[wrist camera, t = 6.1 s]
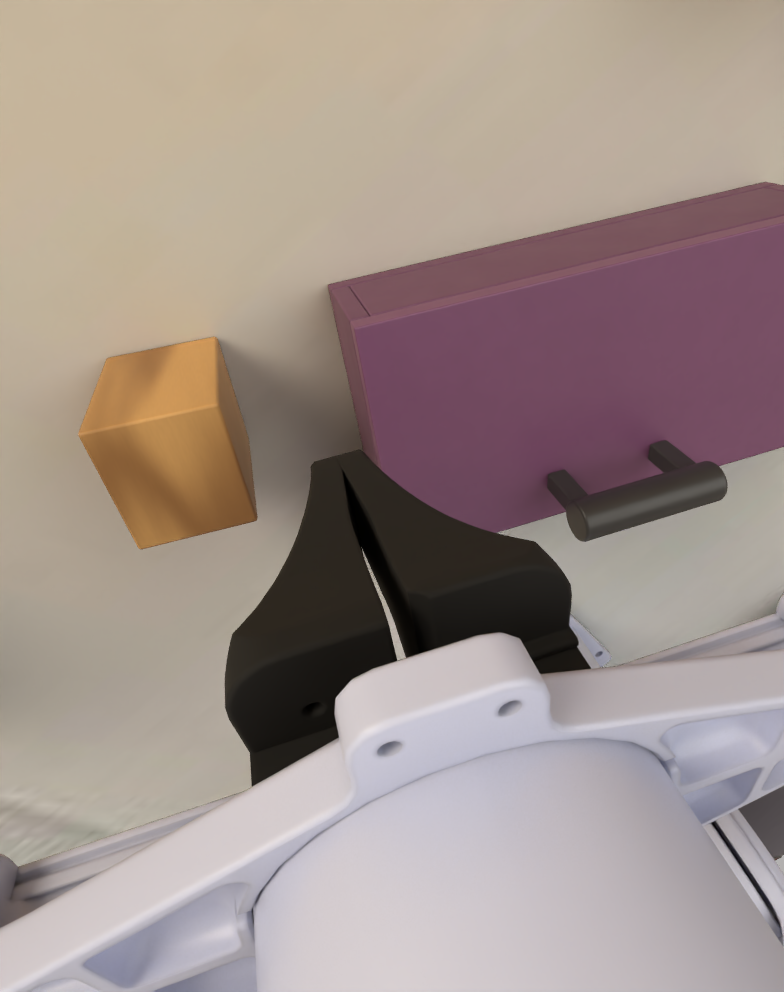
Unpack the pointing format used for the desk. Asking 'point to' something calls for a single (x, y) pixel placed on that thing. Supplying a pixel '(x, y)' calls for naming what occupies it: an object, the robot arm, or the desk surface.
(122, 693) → the desk surface
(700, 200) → the box
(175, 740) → the desk surface
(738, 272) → the lid
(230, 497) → the block
